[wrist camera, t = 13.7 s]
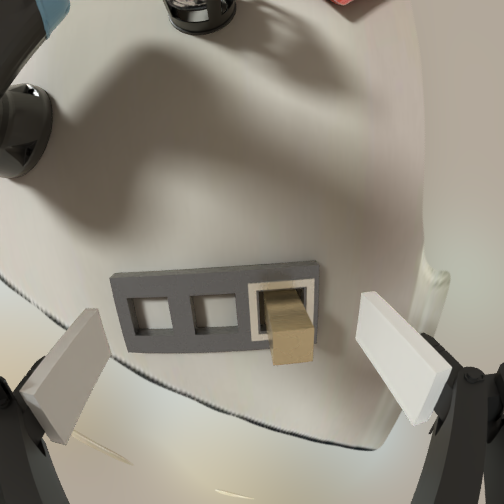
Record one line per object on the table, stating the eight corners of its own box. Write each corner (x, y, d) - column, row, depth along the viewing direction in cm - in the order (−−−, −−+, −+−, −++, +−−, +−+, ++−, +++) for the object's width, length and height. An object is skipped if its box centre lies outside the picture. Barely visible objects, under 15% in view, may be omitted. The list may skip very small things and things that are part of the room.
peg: (264, 319, 41) (273, 365, 30) (263, 291, 40) (272, 332, 29) (295, 316, 41) (312, 361, 30) (295, 288, 40) (314, 327, 29)
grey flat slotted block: (131, 345, 41) (127, 353, 39) (114, 273, 38) (108, 278, 36) (313, 336, 42) (316, 344, 40) (315, 260, 39) (319, 265, 37)
